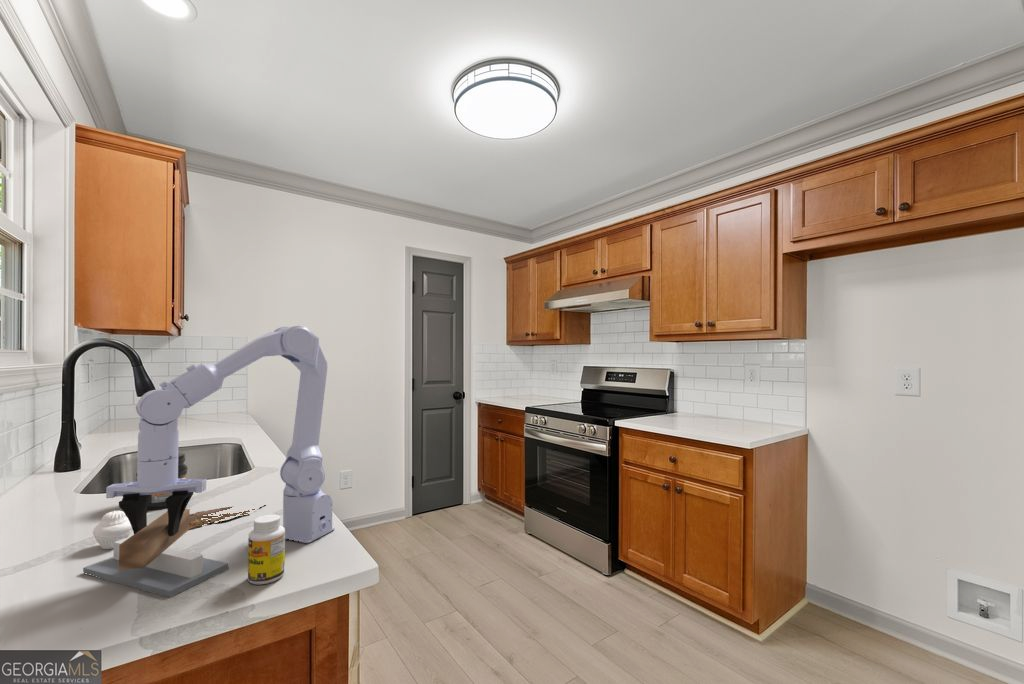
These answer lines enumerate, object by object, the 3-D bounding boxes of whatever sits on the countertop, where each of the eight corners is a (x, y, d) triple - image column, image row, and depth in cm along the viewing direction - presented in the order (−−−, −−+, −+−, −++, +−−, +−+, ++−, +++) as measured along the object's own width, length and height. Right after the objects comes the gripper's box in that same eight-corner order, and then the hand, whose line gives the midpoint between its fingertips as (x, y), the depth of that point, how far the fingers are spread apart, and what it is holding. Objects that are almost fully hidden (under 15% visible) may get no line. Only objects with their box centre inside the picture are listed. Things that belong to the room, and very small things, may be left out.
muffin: (134, 546, 91) (135, 510, 91) (92, 555, 87) (93, 518, 87) (131, 536, 96) (132, 503, 96) (92, 545, 91) (92, 510, 91)
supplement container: (190, 504, 115) (190, 456, 116) (136, 514, 108) (136, 463, 109) (184, 494, 123) (184, 449, 123) (133, 503, 116) (134, 455, 116)
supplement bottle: (240, 581, 78) (241, 520, 78) (271, 567, 83) (272, 510, 83) (260, 589, 75) (261, 526, 75) (291, 575, 80) (292, 515, 80)
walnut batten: (189, 529, 89) (189, 508, 90) (144, 567, 74) (144, 542, 74) (168, 531, 89) (169, 510, 89) (118, 570, 73) (119, 544, 73)
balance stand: (228, 569, 82) (228, 546, 82) (169, 597, 73) (170, 571, 73) (145, 549, 89) (146, 529, 89) (83, 573, 80) (83, 550, 80)
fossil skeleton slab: (149, 542, 93) (149, 537, 93) (137, 528, 101) (137, 523, 101) (280, 510, 113) (280, 506, 113) (263, 500, 120) (263, 496, 120)
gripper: (213, 451, 87) (212, 523, 87) (123, 454, 83) (122, 530, 83) (197, 459, 80) (196, 538, 80) (98, 464, 77) (97, 546, 76)
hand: (157, 535), depth 81 cm, fingers open, 4 cm apart
